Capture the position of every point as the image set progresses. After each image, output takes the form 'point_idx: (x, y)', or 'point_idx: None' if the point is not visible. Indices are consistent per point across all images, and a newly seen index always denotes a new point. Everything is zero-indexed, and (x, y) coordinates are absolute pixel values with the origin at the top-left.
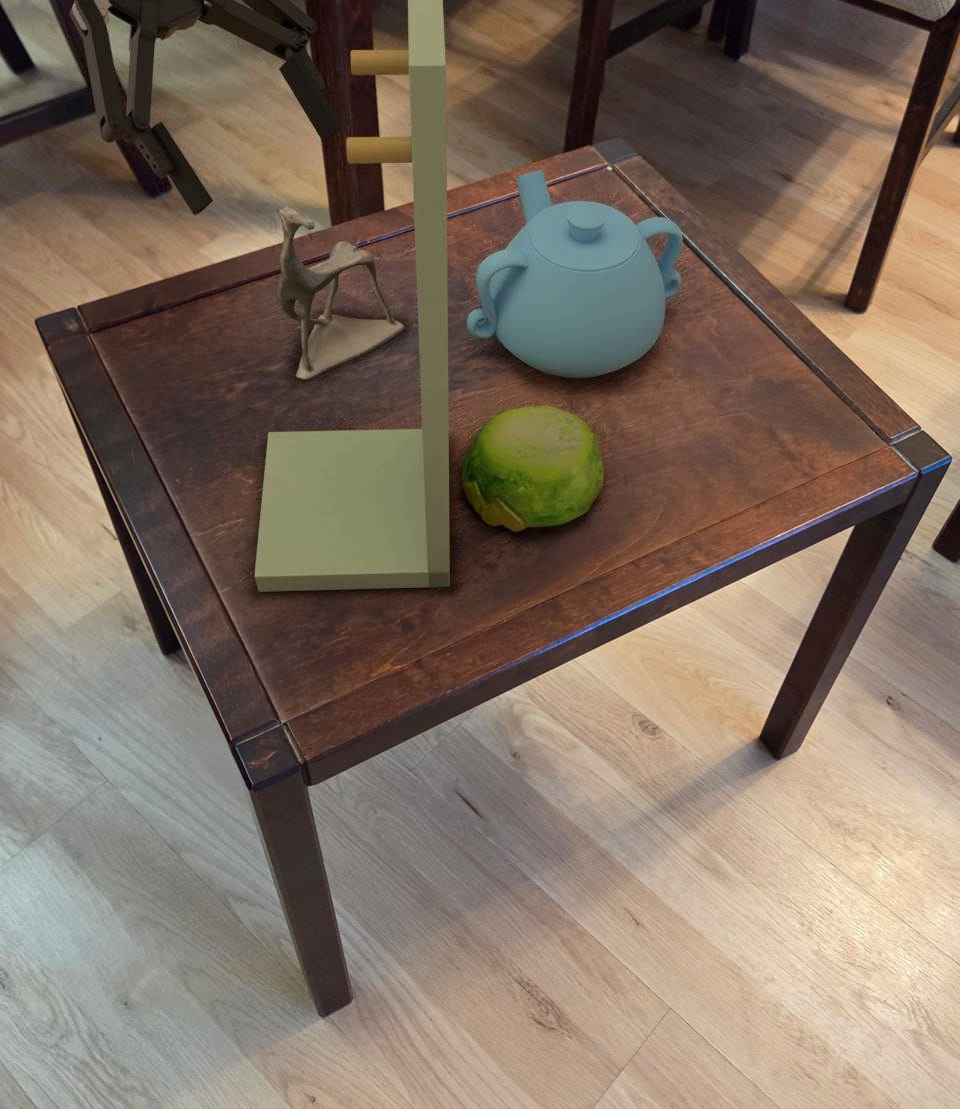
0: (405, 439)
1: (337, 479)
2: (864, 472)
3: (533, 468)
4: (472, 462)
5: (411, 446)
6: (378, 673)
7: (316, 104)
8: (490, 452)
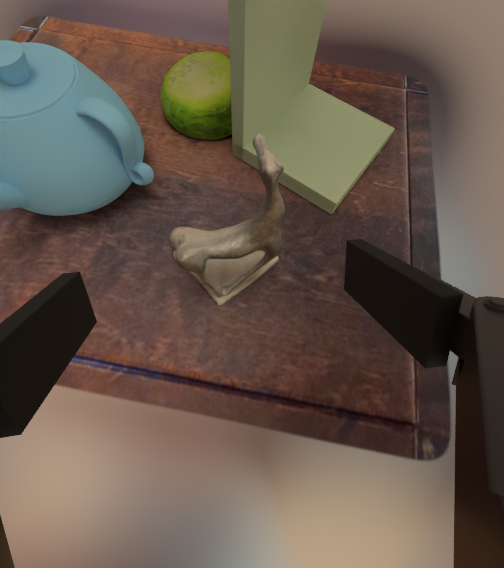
0: None
1: (316, 149)
2: (67, 27)
3: (224, 60)
4: None
5: None
6: (353, 82)
7: (58, 308)
8: None
